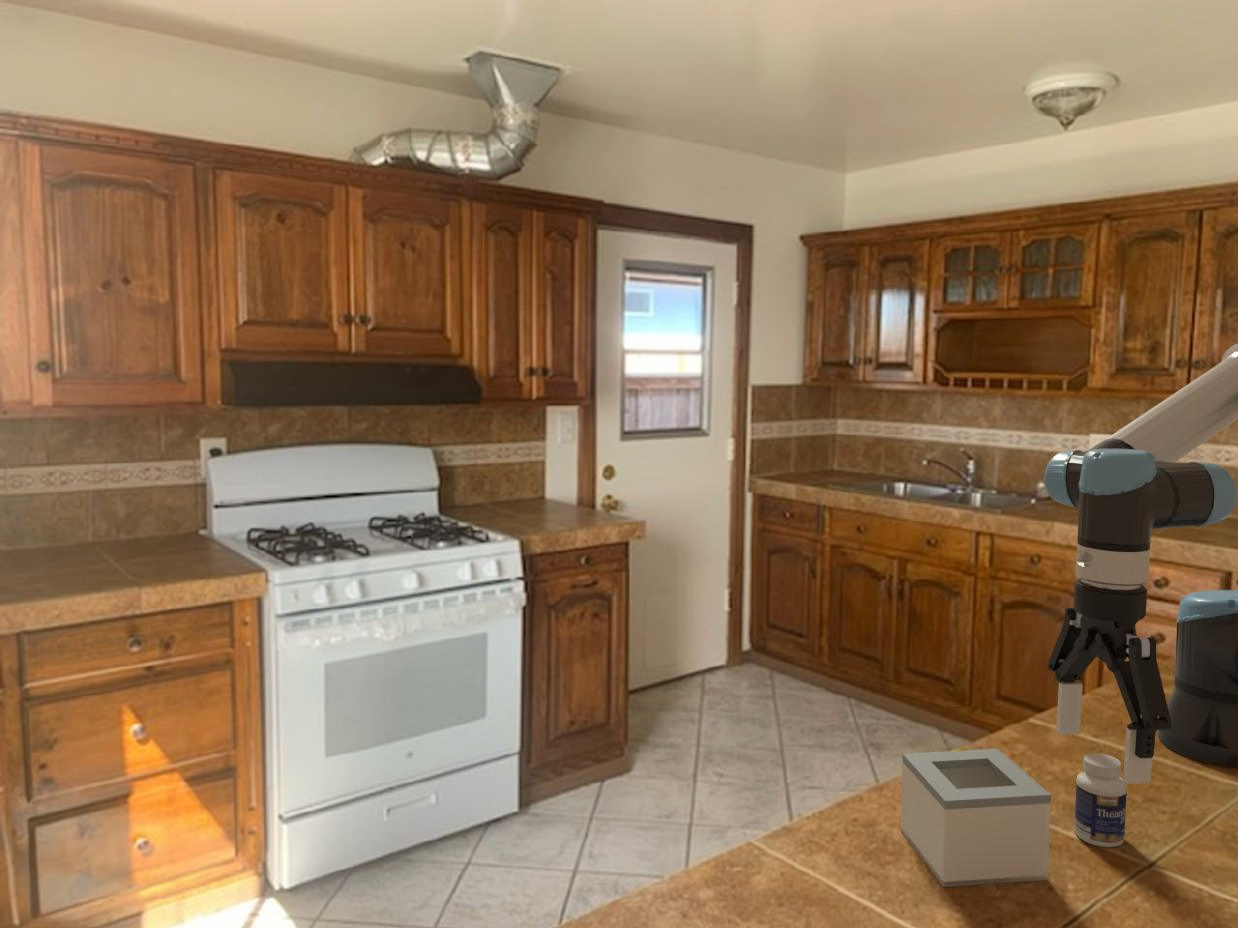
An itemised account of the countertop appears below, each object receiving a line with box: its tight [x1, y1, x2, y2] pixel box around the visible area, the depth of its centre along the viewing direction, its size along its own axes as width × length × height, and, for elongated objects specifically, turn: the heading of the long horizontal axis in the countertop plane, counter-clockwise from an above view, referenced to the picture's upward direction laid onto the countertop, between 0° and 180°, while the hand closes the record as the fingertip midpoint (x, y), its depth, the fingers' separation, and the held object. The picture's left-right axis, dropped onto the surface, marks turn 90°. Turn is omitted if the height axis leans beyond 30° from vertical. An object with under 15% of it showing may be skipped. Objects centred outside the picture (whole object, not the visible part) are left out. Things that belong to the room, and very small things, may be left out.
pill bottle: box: [1073, 752, 1128, 848], centre depth 110 cm, size 5×5×10 cm
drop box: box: [900, 748, 1052, 888], centre depth 107 cm, size 12×12×10 cm
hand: (1100, 756), depth 110 cm, fingers open, 13 cm apart
